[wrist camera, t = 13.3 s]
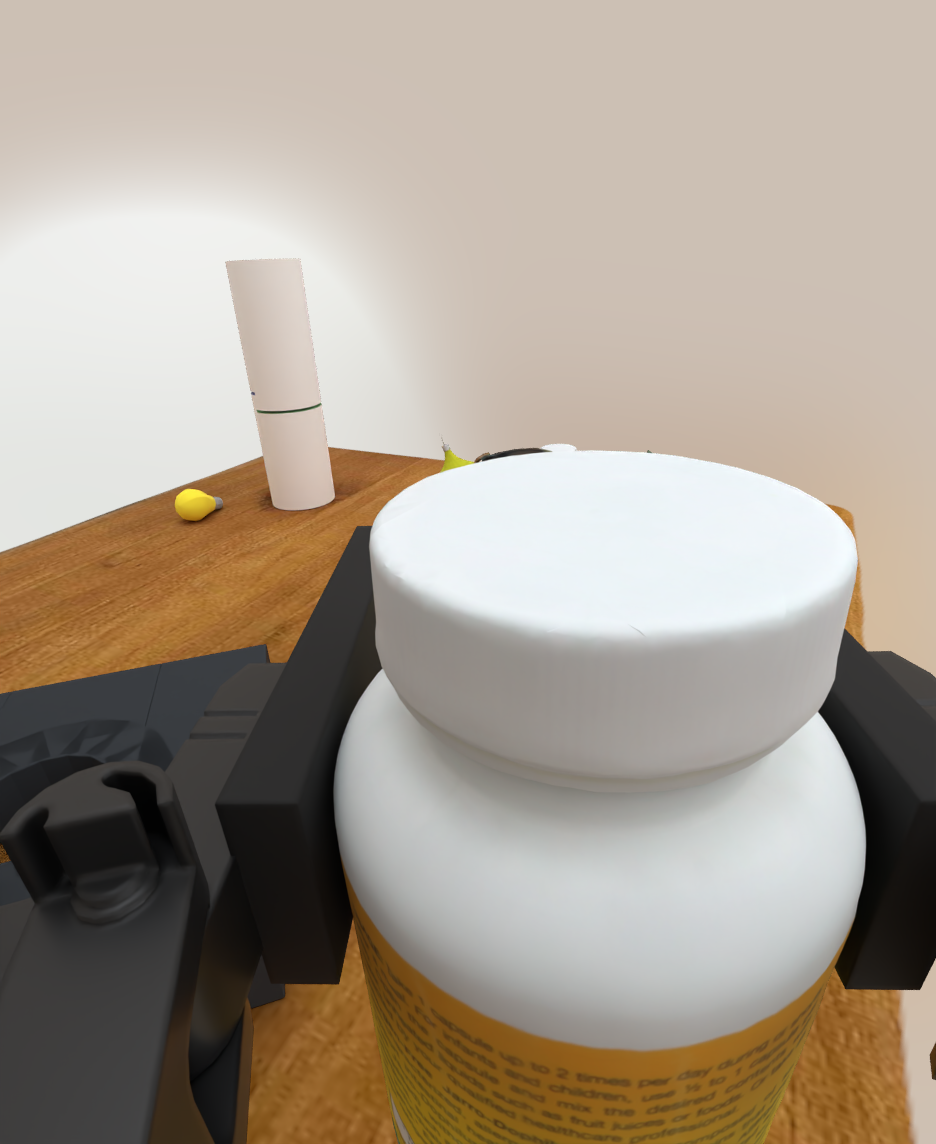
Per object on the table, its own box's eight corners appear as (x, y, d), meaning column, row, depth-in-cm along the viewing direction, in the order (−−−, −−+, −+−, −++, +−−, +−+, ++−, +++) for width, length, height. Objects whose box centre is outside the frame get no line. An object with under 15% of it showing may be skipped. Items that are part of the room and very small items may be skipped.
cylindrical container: (323, 485, 76) (288, 260, 64) (343, 501, 70) (309, 257, 59) (265, 497, 72) (218, 262, 61) (282, 515, 67) (234, 260, 56)
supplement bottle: (389, 936, 12) (313, 448, 7) (655, 895, 12) (727, 418, 8) (397, 1392, 7) (198, 762, 3) (831, 1293, 8) (1242, 636, 3)
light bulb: (172, 525, 65) (163, 493, 65) (213, 521, 71) (205, 491, 70) (195, 518, 64) (186, 485, 63) (236, 514, 69) (227, 484, 69)
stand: (-444, 1237, 17) (-526, 1190, 16) (-91, 756, 34) (-115, 715, 33) (285, 998, 22) (269, 947, 21) (274, 682, 39) (266, 643, 38)
